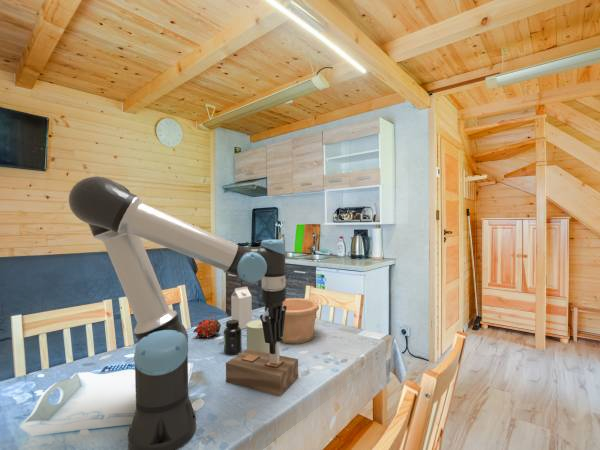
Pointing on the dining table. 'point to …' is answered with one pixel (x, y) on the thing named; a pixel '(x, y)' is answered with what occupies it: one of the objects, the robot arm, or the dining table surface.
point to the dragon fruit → (208, 328)
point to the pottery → (299, 320)
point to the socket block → (262, 372)
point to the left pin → (250, 358)
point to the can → (256, 337)
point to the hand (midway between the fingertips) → (274, 362)
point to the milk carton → (241, 306)
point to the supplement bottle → (232, 338)
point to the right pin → (274, 364)
